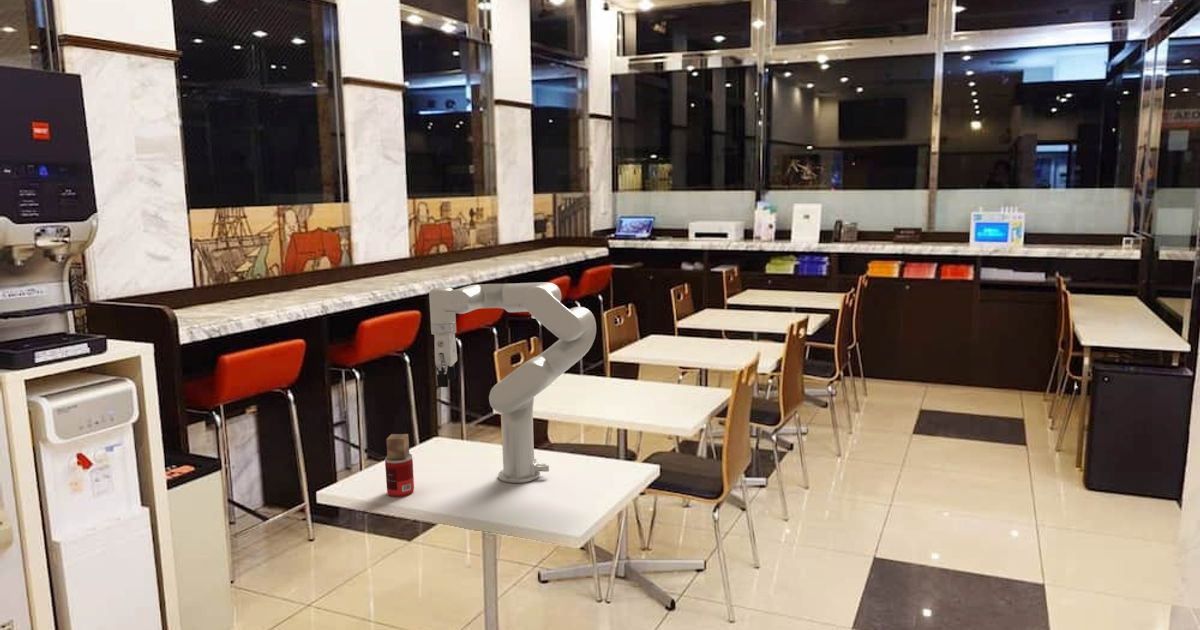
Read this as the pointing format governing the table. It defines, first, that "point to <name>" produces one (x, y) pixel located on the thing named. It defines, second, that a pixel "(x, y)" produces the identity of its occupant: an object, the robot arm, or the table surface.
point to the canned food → (399, 476)
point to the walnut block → (397, 446)
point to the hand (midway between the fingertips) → (446, 383)
